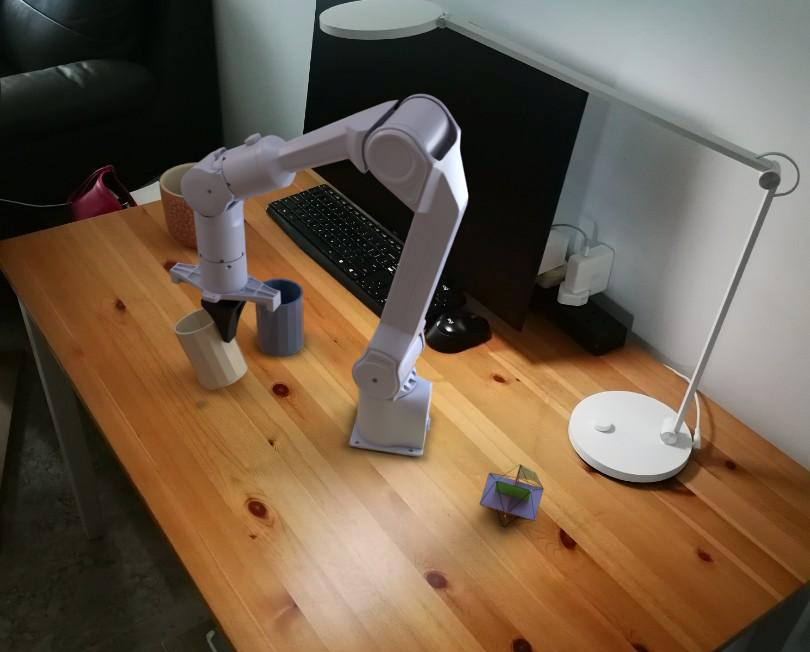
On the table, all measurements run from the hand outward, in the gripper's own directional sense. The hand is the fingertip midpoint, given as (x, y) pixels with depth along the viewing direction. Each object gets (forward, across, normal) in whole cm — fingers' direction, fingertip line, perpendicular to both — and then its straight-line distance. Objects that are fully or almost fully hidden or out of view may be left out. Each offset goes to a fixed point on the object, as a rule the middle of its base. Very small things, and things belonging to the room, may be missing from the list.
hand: (229, 338), depth 112 cm
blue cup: (+8, +2, +11) cm, 14 cm away
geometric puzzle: (+8, +41, -7) cm, 43 cm away
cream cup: (+7, -1, 0) cm, 7 cm away
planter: (+8, -23, +31) cm, 40 cm away
